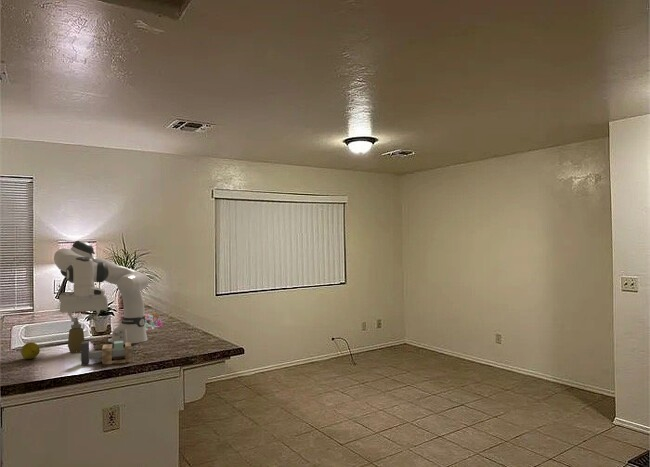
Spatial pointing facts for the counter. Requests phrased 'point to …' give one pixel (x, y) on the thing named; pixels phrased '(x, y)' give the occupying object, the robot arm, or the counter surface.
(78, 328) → the squeeze bottle
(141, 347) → the counter surface
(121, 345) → the spacer
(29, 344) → the lemon
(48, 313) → the counter surface
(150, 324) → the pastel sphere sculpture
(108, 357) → the bearing block
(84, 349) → the grey mallet
